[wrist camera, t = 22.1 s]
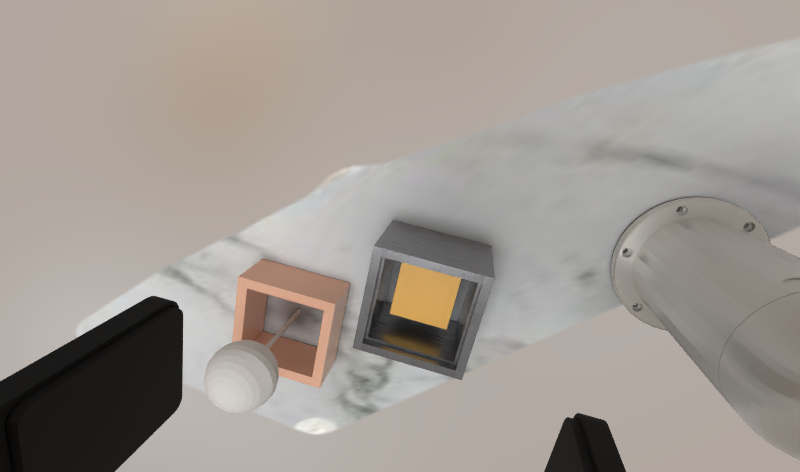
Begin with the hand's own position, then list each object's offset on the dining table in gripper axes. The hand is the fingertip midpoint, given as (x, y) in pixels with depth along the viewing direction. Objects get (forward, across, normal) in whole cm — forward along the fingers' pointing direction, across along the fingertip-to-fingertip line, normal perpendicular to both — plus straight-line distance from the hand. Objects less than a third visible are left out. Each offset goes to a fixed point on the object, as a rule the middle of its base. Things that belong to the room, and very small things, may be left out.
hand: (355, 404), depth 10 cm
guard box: (+32, 0, +10) cm, 33 cm away
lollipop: (+32, +13, +18) cm, 39 cm away
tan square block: (+31, 0, +10) cm, 33 cm away
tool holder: (+32, +13, +18) cm, 39 cm away
